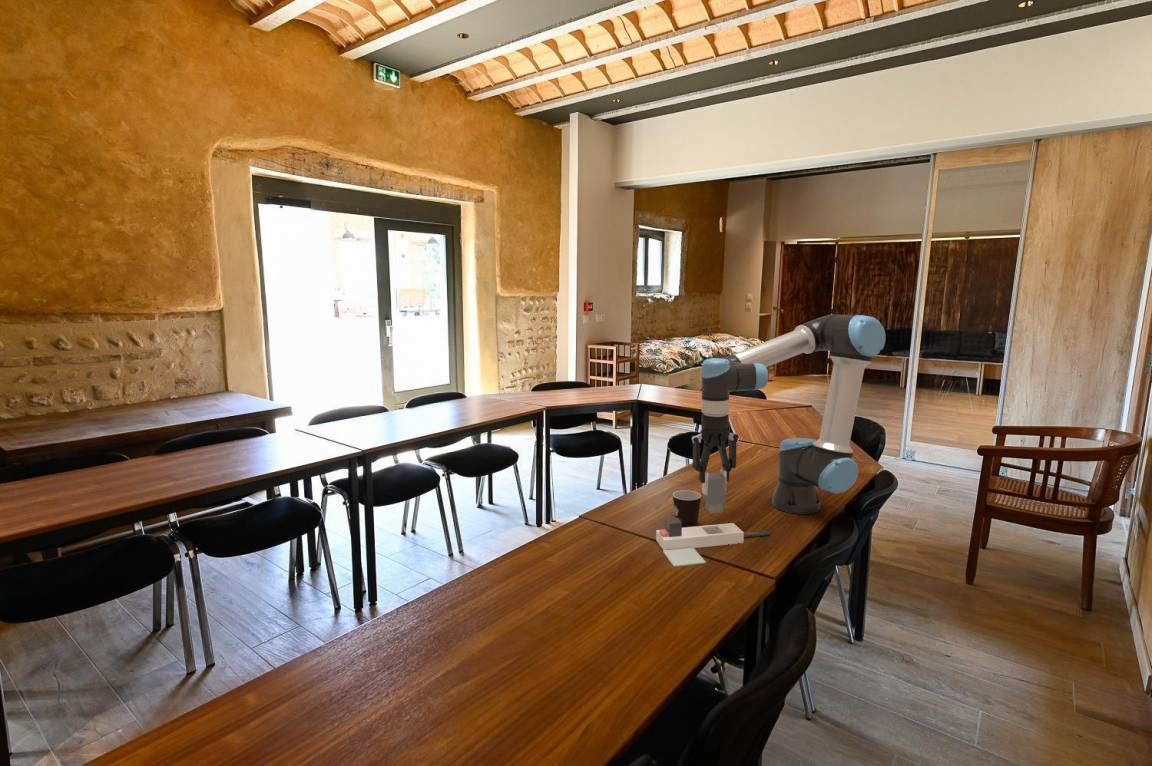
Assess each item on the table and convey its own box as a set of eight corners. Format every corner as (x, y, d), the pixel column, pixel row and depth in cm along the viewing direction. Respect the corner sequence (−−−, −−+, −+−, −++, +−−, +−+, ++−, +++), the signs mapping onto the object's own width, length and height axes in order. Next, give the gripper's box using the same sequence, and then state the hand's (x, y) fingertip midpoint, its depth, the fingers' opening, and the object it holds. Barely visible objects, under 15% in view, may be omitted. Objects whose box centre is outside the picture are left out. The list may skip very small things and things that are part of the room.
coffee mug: (700, 532, 171) (701, 500, 170) (672, 530, 173) (672, 499, 171) (700, 517, 182) (700, 487, 181) (673, 515, 184) (673, 486, 183)
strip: (763, 530, 172) (764, 507, 171) (775, 539, 165) (776, 516, 164) (656, 540, 166) (656, 517, 165) (664, 551, 159) (664, 526, 158)
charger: (718, 506, 167) (718, 472, 165) (725, 512, 162) (725, 477, 160) (703, 508, 166) (703, 474, 164) (709, 514, 161) (709, 479, 160)
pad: (693, 548, 160) (693, 547, 160) (705, 563, 152) (705, 562, 152) (662, 552, 159) (662, 550, 159) (673, 567, 150) (673, 565, 150)
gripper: (738, 409, 165) (737, 485, 168) (680, 412, 162) (679, 490, 165) (750, 414, 157) (748, 494, 161) (689, 418, 154) (689, 499, 158)
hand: (714, 492), depth 163 cm, fingers closed on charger, 5 cm apart
